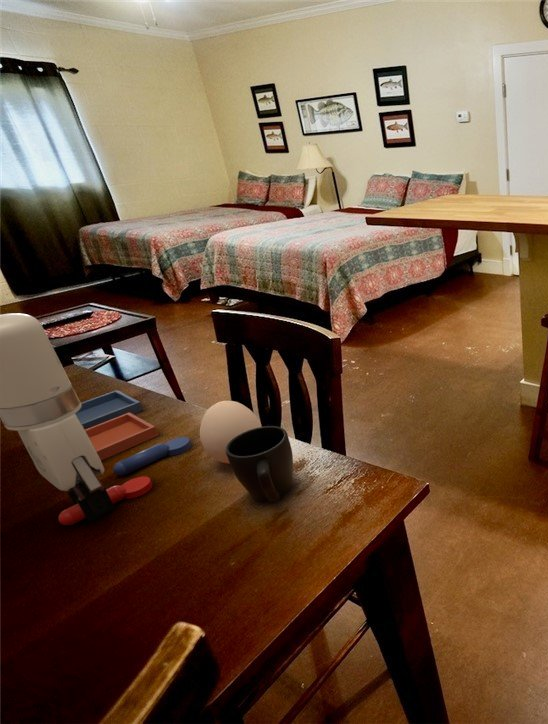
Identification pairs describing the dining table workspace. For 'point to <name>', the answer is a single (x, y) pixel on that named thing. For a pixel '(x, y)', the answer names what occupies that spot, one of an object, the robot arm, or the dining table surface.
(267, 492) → the mug
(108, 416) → the blue tray
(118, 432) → the terracotta tray
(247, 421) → the egg
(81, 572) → the dining table surface
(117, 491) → the red spoon
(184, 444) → the blue spoon
